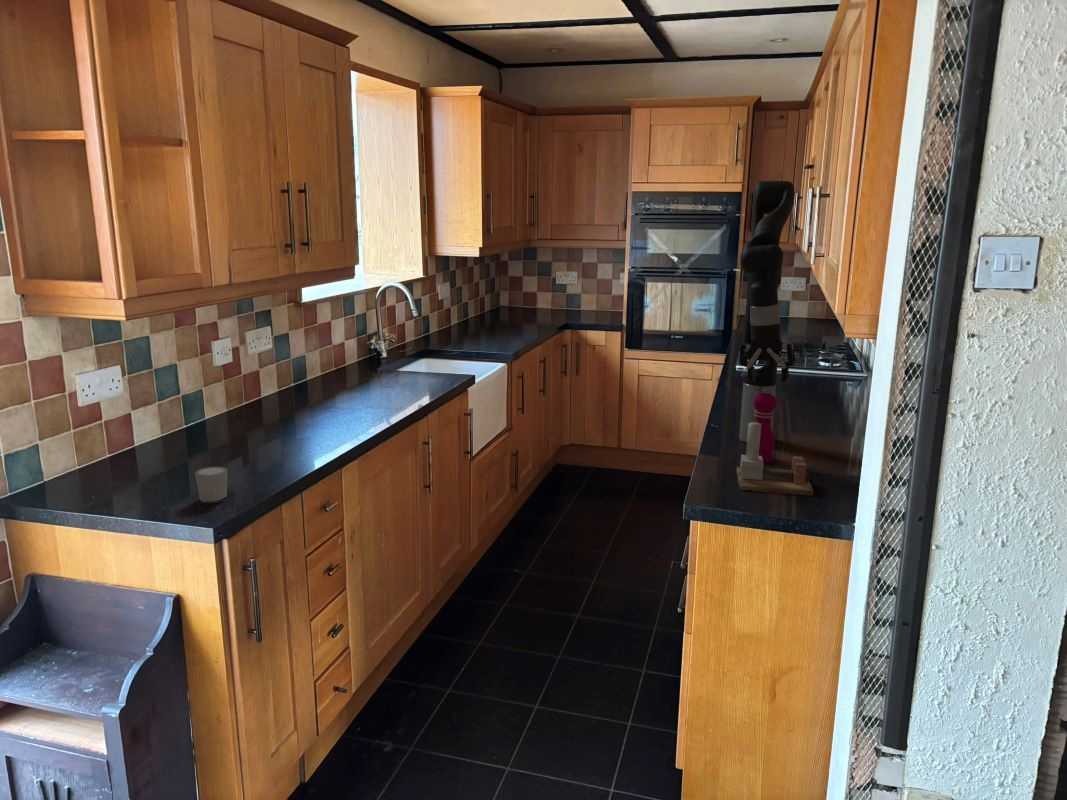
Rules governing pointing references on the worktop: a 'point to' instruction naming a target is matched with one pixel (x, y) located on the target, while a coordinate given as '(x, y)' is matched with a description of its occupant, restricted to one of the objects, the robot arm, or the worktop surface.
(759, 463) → the white handled block
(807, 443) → the worktop surface
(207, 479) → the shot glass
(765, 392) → the pepper mill
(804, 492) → the track
